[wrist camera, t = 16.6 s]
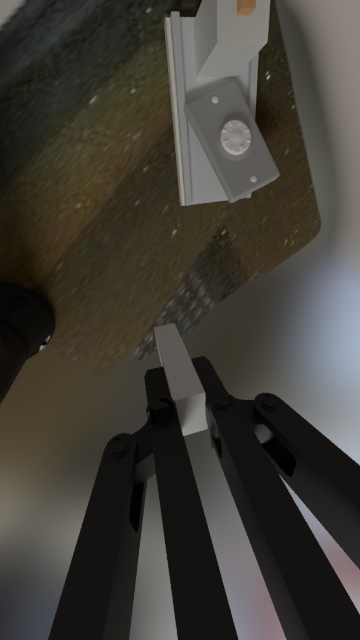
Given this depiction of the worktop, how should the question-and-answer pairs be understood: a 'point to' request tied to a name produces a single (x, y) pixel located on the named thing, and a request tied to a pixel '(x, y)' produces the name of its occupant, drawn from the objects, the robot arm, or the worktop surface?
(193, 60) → the rail board
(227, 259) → the worktop surface
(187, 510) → the robot arm
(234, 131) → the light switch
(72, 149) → the worktop surface
